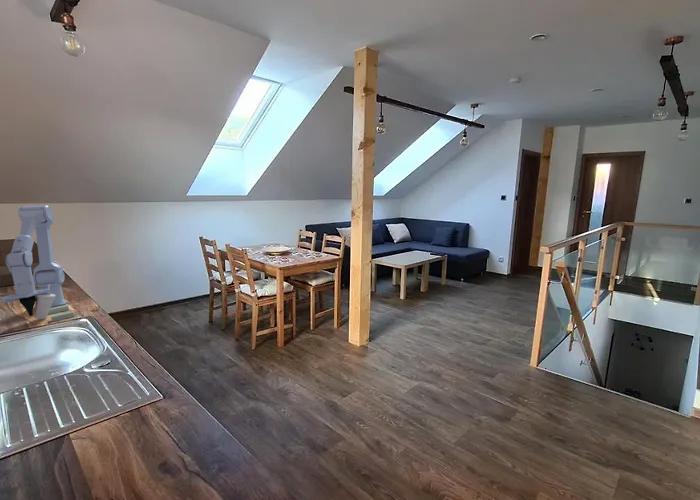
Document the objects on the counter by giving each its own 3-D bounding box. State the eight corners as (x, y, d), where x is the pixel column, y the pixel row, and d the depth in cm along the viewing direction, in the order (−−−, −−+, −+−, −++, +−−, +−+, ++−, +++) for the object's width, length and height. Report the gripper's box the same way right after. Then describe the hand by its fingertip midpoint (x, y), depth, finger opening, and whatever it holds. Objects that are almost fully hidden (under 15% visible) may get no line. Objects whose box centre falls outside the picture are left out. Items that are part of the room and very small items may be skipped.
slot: (47, 313, 155) (46, 309, 155) (68, 308, 160) (67, 304, 160) (52, 321, 146) (51, 317, 146) (73, 316, 151) (73, 312, 151)
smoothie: (39, 321, 145) (47, 286, 145) (25, 317, 146) (33, 282, 146) (54, 318, 151) (62, 285, 152) (41, 315, 152) (49, 281, 153)
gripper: (-1, 288, 136) (6, 323, 139) (49, 280, 146) (55, 312, 149) (-2, 285, 141) (5, 318, 144) (46, 277, 151) (52, 308, 154)
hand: (30, 315), depth 146 cm, fingers closed
